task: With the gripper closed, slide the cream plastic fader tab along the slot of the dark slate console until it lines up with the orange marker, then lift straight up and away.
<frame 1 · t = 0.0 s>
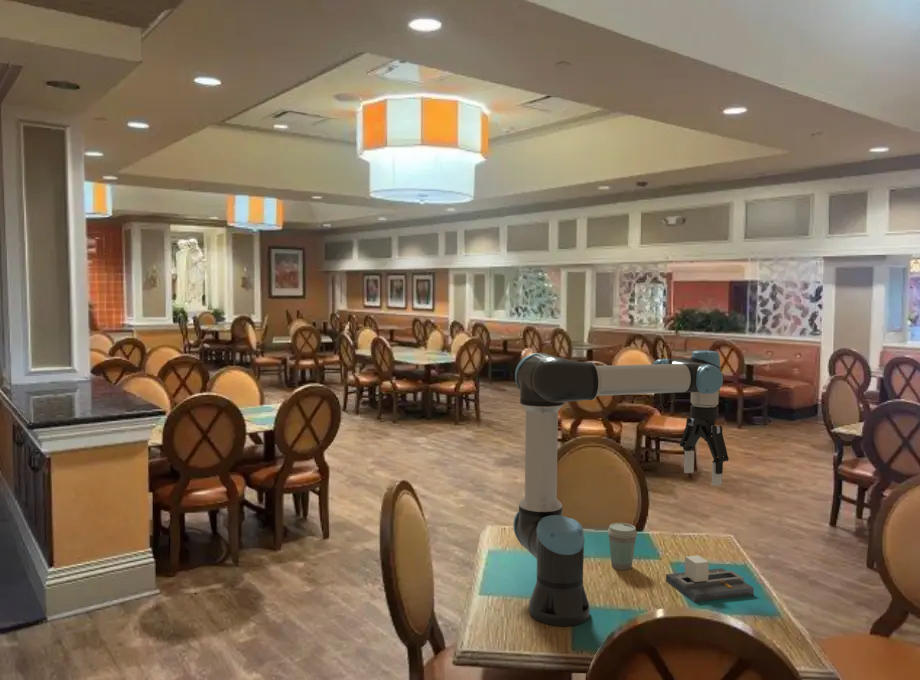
hand: (702, 478, 207), 28 cm above the table, fingers open, 13 cm apart
coffee cup: (621, 567, 215), on the table
console: (708, 587, 199), on the table
fader tab: (696, 570, 198), point 5 cm above the table, slide at 0.0 cm
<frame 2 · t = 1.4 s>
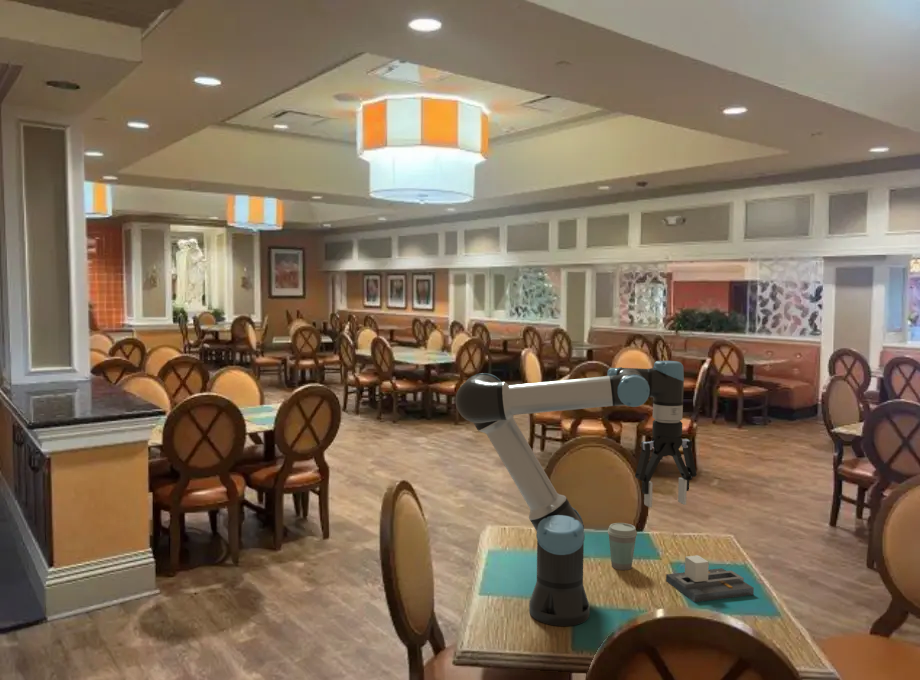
hand: (665, 504, 191), 26 cm above the table, fingers open, 9 cm apart
nothing on the table moved.
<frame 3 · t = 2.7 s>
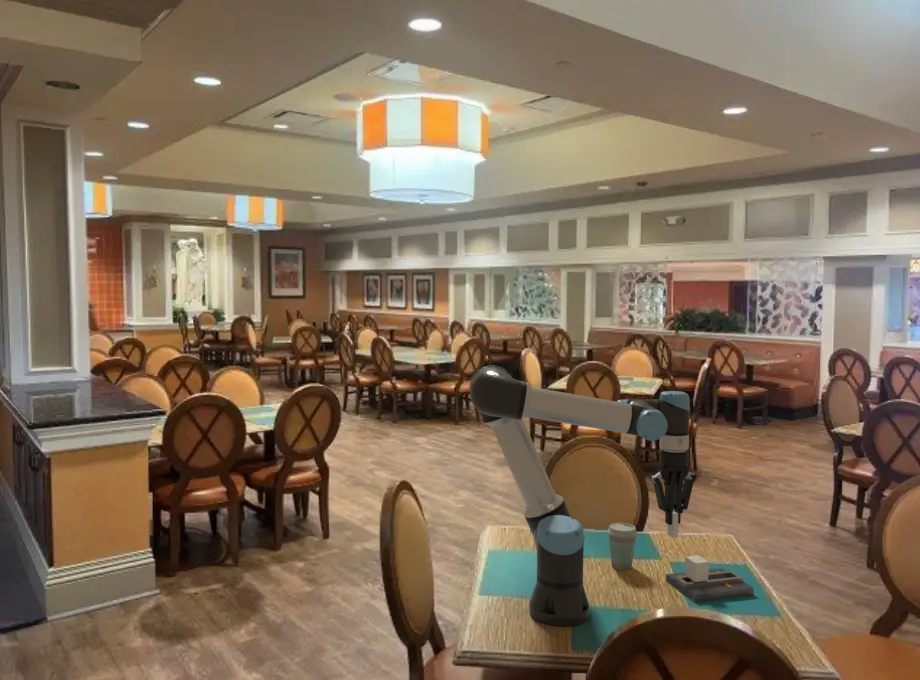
hand: (672, 535, 195), 16 cm above the table, fingers closed
nothing on the table moved.
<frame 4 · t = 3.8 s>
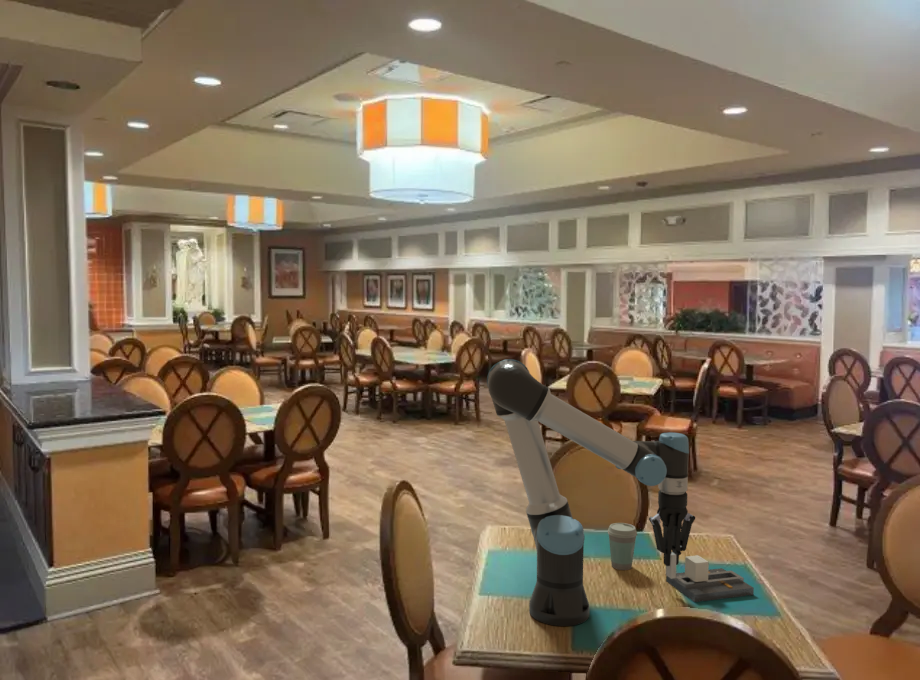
hand: (670, 576, 196), 4 cm above the table, fingers closed
nothing on the table moved.
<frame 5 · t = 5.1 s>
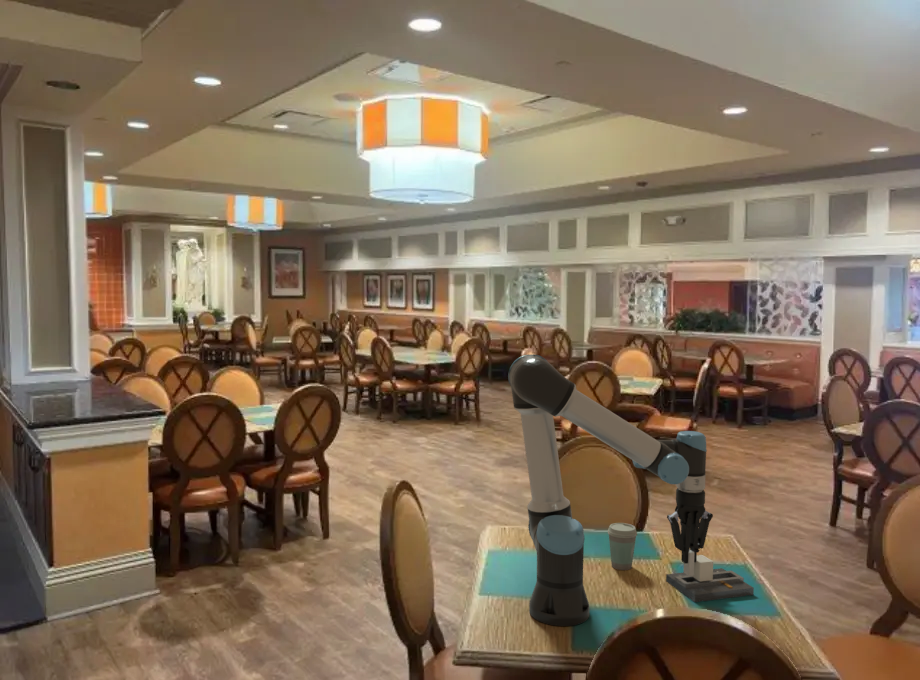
hand: (688, 573, 197), 5 cm above the table, fingers closed
fader tab: (701, 570, 198), point 5 cm above the table, slide at 1.4 cm, touching gripper
everything else where it was.
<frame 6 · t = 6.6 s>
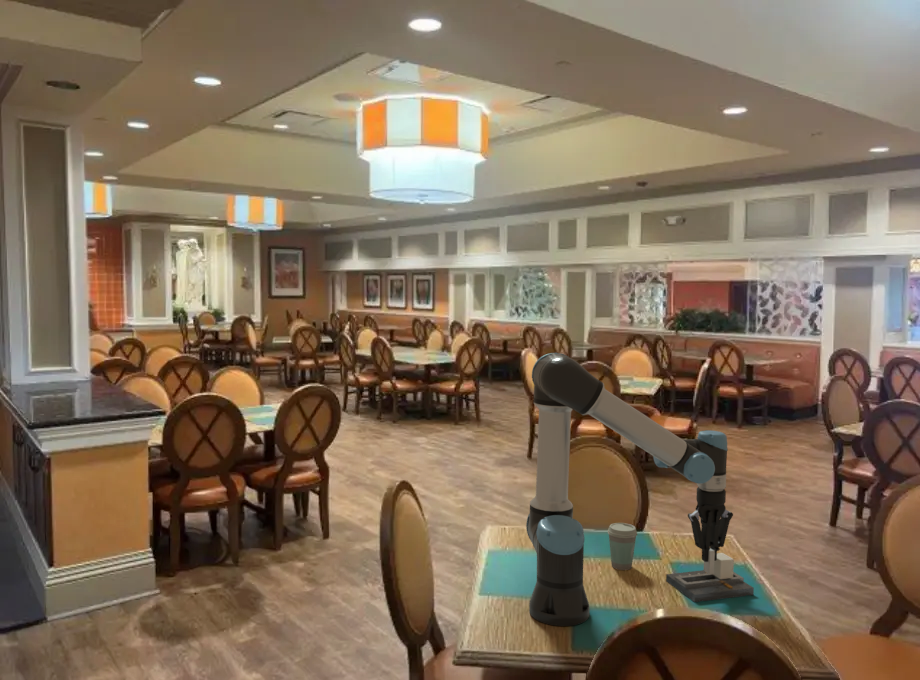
hand: (708, 572, 199), 4 cm above the table, fingers closed
fader tab: (721, 568, 200), point 5 cm above the table, slide at 7.8 cm, touching gripper
everything else where it was.
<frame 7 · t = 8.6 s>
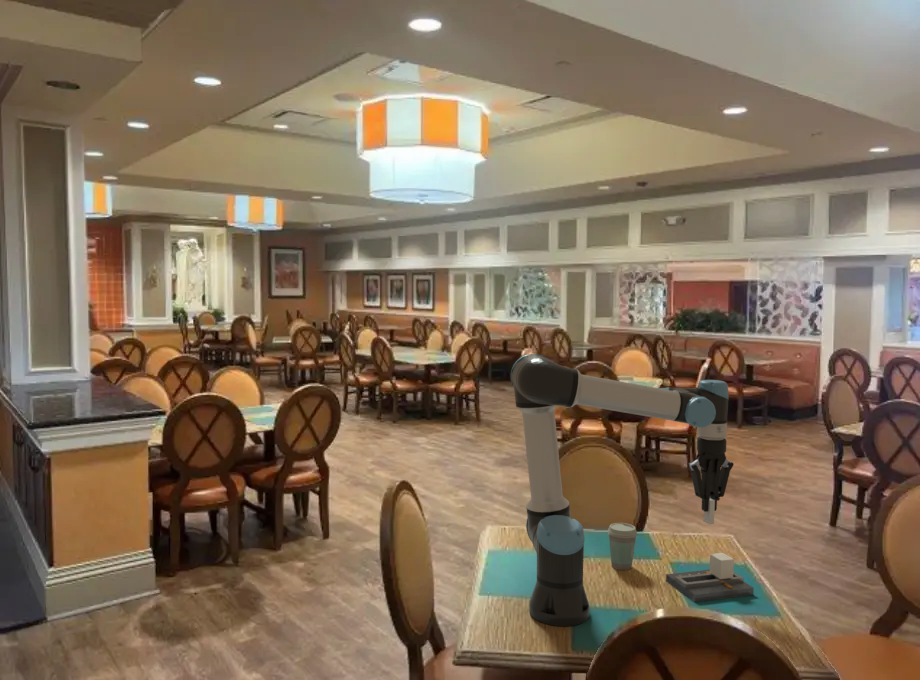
hand: (708, 522, 198), 18 cm above the table, fingers closed
fader tab: (721, 567, 200), point 5 cm above the table, slide at 7.8 cm
everything else where it was.
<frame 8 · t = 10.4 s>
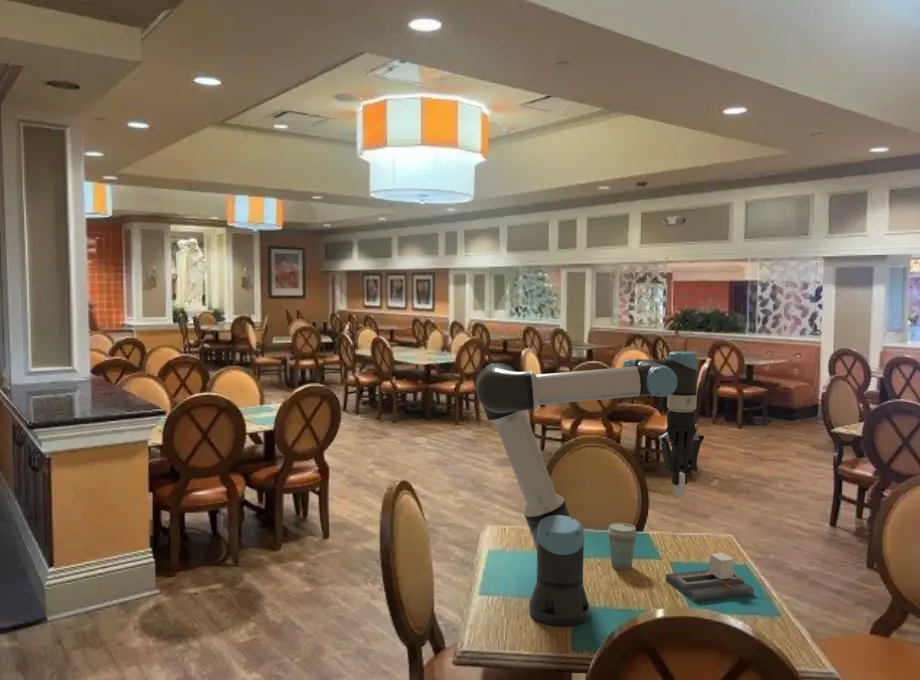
hand: (679, 496, 195), 26 cm above the table, fingers closed
nothing on the table moved.
at the end: fader tab slide at 7.8 cm; the gripper is holding nothing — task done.
